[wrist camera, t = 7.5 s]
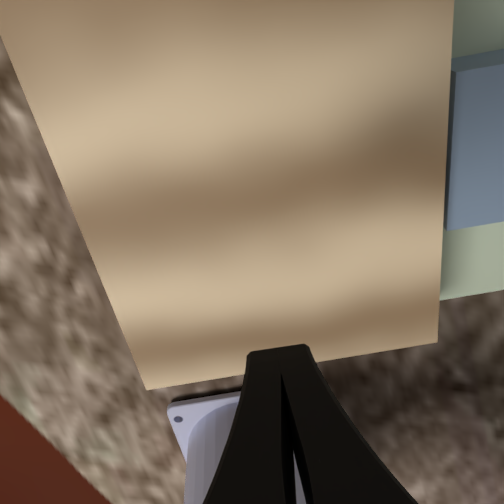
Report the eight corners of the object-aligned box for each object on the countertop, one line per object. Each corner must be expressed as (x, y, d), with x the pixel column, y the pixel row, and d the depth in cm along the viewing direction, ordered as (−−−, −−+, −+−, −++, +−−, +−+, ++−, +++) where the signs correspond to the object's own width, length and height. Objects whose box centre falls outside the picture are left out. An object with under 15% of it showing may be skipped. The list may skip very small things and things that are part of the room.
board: (413, 300, 23) (437, 342, 21) (154, 344, 24) (146, 390, 21) (418, -99, 15) (459, -112, 12) (19, -19, 15) (-20, -15, 13)
